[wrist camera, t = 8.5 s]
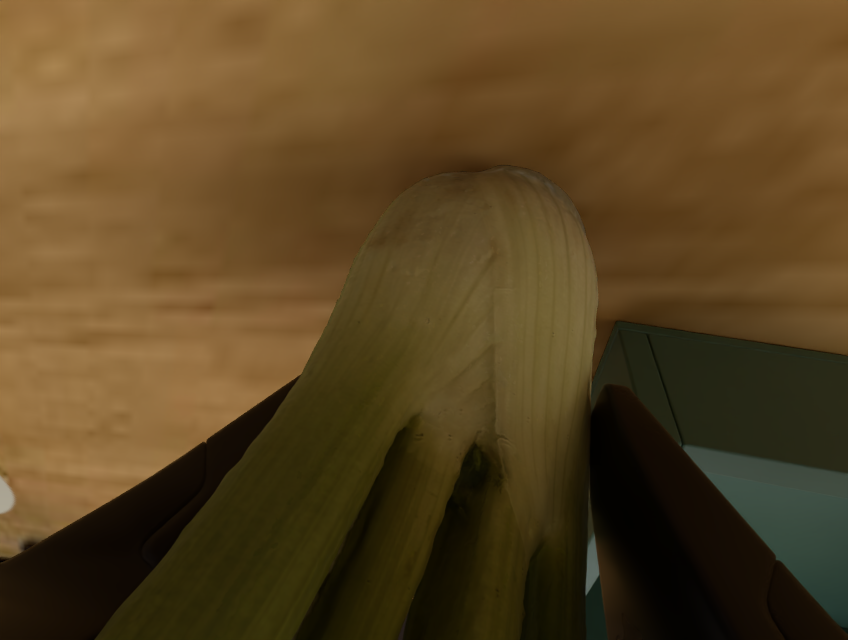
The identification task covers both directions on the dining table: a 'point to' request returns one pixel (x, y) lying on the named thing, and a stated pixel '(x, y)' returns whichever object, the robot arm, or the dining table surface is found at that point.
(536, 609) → the fennel bulb
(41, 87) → the dining table surface
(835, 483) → the tote
